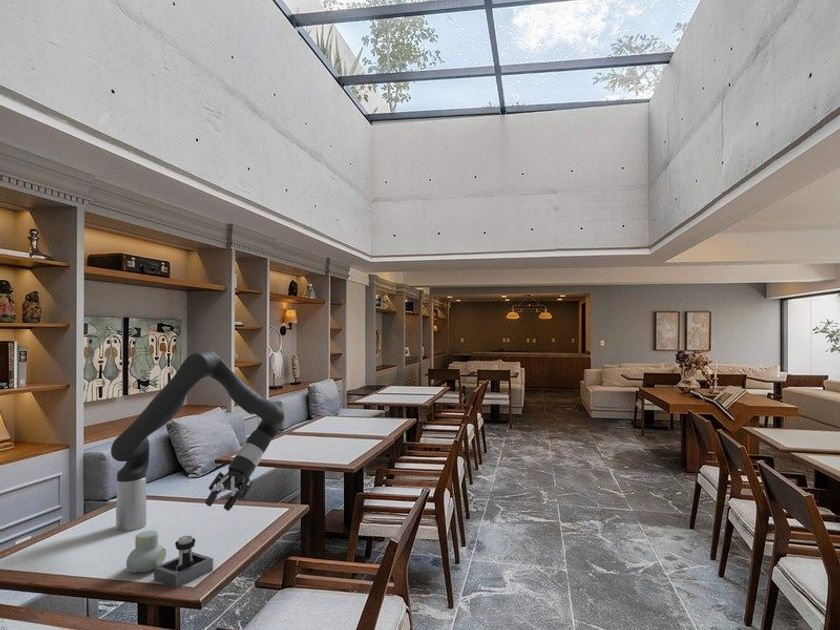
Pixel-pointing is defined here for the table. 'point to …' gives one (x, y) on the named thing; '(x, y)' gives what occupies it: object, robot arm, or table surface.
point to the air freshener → (146, 552)
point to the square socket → (182, 571)
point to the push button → (185, 552)
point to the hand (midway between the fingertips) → (216, 507)
